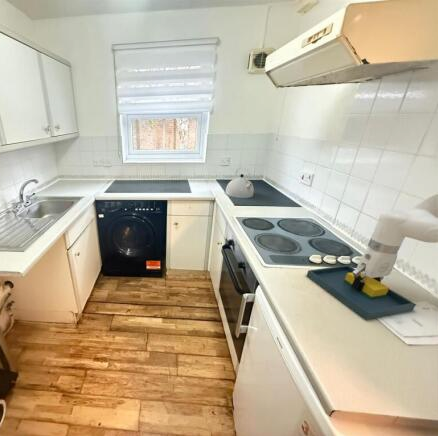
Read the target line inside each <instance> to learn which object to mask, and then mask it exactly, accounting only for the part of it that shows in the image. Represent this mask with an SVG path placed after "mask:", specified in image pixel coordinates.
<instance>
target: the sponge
mask: <svg viewBox="0 0 438 436" xmlns="http://www.w3.org/2000/svg"><path fill="white" fill-rule="evenodd" d="M360 276H361V277H362V278H363V277H364V275H362V274H361V275H360ZM354 279H355V278H354V275H353V273H347V275H346V278H345V280H344V282H345V283H347V284H348V285H350V286H351V287H352V284H353V282H354ZM364 282H365V284H364V287H363V289H362V291H359V292H360V293H362V294H364V295H365V296H367V297H368V298H370V299H374V298H380V297H385V296H386V294H387V292H388V290H389V289H390V287H389V286H387V285H385V284H383V282H379V281H377V280H375V279H373V278H367V279H366V280H365V281H364ZM354 289H355V288H354ZM357 291H358V290H357Z"/></svg>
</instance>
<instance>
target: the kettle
mask: <svg viewBox="0 0 438 436" xmlns="http://www.w3.org/2000/svg"><path fill="white" fill-rule="evenodd" d="M240 169H243V170H245V171H246V172H247V174H248V178H246V177H244V174H243V173H241V174H240V175H239V176H240V177H237V173H238V170H240ZM234 177H235V178H233V179H232V180H230V181H229V182H228V184H227V186H226V187H225V192H224V193H225V195H227V196H229V197H232V198H237V199H249V198H253V197H254V195H255V194H254V193H255V188H254V185H253V183H252V182H251V181H250V177H251V175H250V171H249V169H247V168H245V167H243V166H241V167H238V168H237V169H236V170H235V174H234Z"/></svg>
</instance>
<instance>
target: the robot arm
mask: <svg viewBox="0 0 438 436" xmlns="http://www.w3.org/2000/svg"><path fill="white" fill-rule="evenodd" d="M405 238H409V239H413V240H416V241H419V242H424V243H428V244H429V243H431V244H435V243H438V192H434V193H432V194H431V195H428V196H426V197H424V198H423V199H422V200H420V201H418V202H417V203H416V204H415V205H413V206H412V207H410V208H409V209H408V210H406V212H404V211H400V210H393V209H387V210H383V212H381V214H380V216H379V218H378V221H377V223H376V225H375V227H374V230H373V232H372V234H371V237H370V239H369V241H368V243H367V248H365V250H364V252H363V254H362V255H361V257H360V259H359V261H358V263H357V266H356V268H355V269H356V270H354V271H353V272H352V273H353V275H354V278H355V279H354V282H353V284H352V287H353V288H355V289H356V290H358V291H362V289H363V287H364V284H365V282H364V281H365V280H366V279H367V278H373V279H375V280H377V281H379V282H380V283H382V281H383V280H384V277H387V276H390V275H391V273H392V271H393V268H394V266H395V264H396V260H397V258H398V253H399V250H400V248H401V246H402V245H403V242H404V241H405ZM361 274H362V275H364V277H363V278H362V277H361V276H360V275H361Z"/></svg>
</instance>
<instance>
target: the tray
mask: <svg viewBox="0 0 438 436" xmlns="http://www.w3.org/2000/svg"><path fill="white" fill-rule="evenodd" d="M356 269H357V268H354V267H352V266H350V265H349V264H344V265H338V266H331V267H323V268H316V269H310V270H308V271H307V273H306V277H307V278H308V279H310V280H311V281H312V282H314V283H315V284H317V286H318V287H320V288H322V289H323V290H324V291H326V292H327V293H329V294H330V295H331V296H333V297H334V298H335V299H337V300H338V301H339V302H341V303H342V304H344V306H346V307H347V308H348V309H350V310H352V312H354V313H355V314H357V315H358V316H360V317H361V318H362V319H364V320H365V321H368V320H373V319H378V318H382V317H388V316H389V317H390V316H393V315H398V314H403V313H404V314H405V313H408V312H413V311H414V309H415V307H416V306H417V303H415V302H413V301H411V300H410V299H408V298H406V297H405V296H403V295H402V294H400V293H397V292H395V291H394V290H392V289H391V288H389V290H388V292H387V294H386V296H385V297H380V298H374V299H370V298H368V297H367V296H365V295H364V294H362V293H360V292H359V291H357V290H356V289H354V288H353V287H351V286H350V285H348V284H347V283H345V282H344V280H345V278H346V275H347V273H352V272H353V271H354V270H356Z"/></svg>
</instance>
